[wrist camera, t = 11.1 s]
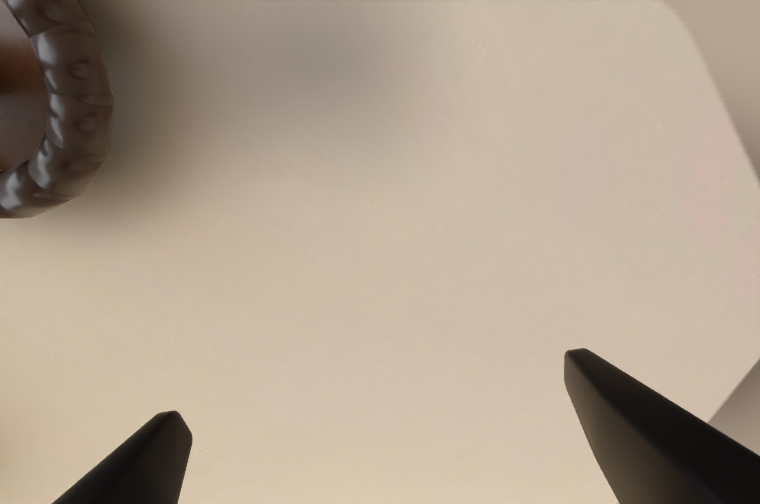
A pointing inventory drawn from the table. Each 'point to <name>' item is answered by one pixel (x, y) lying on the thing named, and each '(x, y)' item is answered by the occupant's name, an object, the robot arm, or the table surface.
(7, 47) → the peg stand
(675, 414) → the robot arm
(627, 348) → the table surface
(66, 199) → the ring
